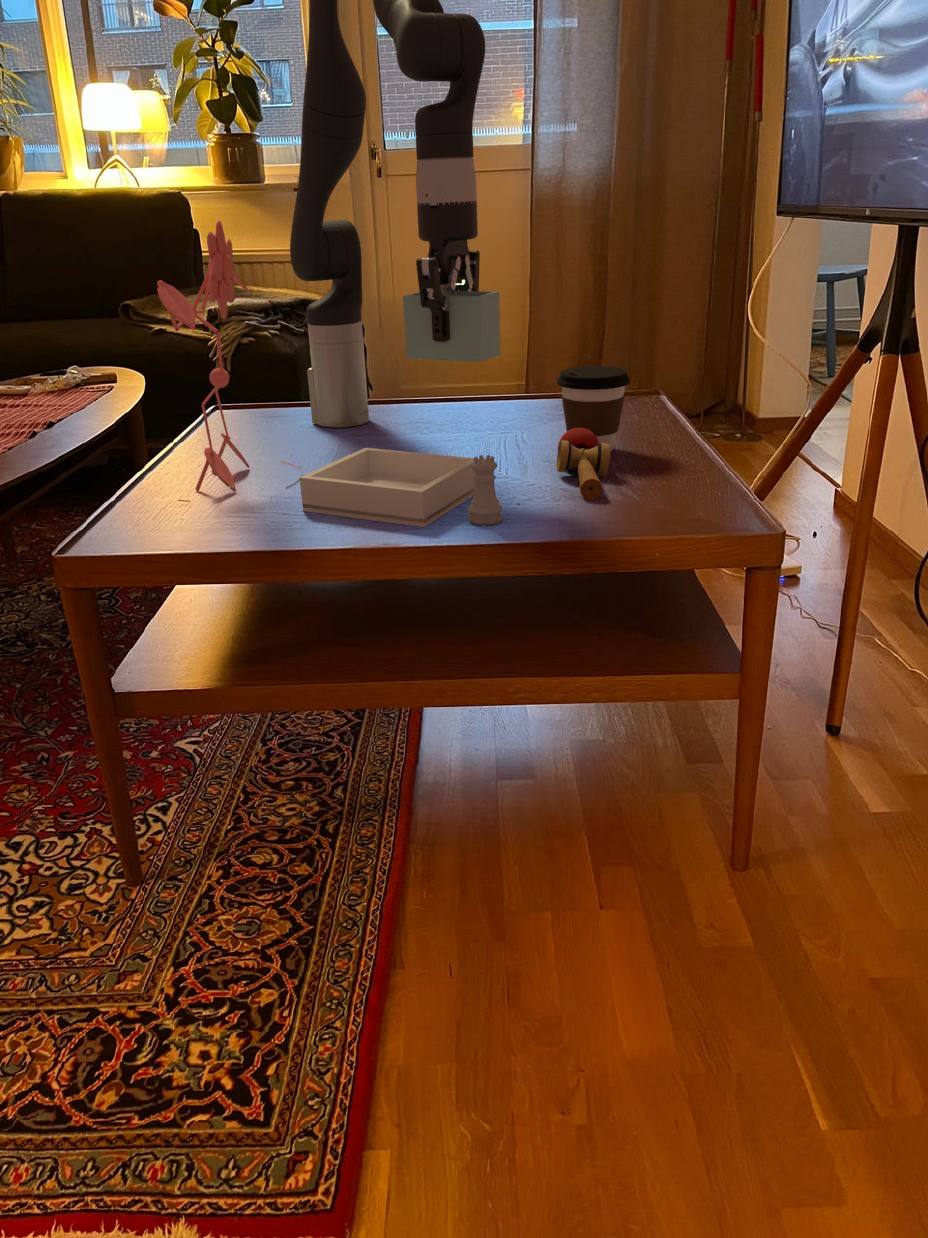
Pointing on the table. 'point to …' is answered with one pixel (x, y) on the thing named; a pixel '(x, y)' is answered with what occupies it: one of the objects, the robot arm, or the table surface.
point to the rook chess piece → (484, 493)
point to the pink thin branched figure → (182, 310)
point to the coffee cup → (594, 399)
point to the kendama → (584, 459)
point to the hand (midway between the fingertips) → (452, 336)
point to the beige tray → (389, 486)
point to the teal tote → (455, 328)
